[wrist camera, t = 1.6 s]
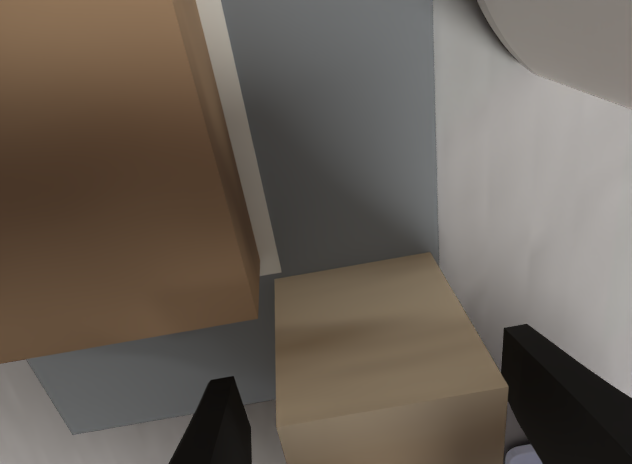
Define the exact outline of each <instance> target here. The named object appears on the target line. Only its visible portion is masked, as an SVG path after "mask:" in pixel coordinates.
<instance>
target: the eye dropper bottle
mask: <svg viewBox="0 0 632 464" xmlns="http://www.w3.org/2000/svg"><path fill="white" fill-rule="evenodd" d="M477 2H478V4H479V6H480V8H481V10H482V12H483V14H484V16H485V18H486V20H487V21H488V23H489V24H490V26H491V28H492V29H493V31H494V32H495V34H496V35H497V36H498V38H499V39H500V41H501V42H502V43H503V45H504V46H505V47H506V48H507V49H508V51H509V52H510V53H511V54H512V55H513V56H514V57H515V58H516V59H517V60H518V61H519V62H520V63H521V64H522V65H523V66H524V67H526V68H527V69H528V70H529V71H531V72H532V73H533V74H536V75H538V76H541V77H544V78H546V79H549V80H552V81H555V82H557V83H560V84H563V85H566V86H568V87H571V88H574V89H577V90H579V91H582V92H585V93H588V94H590V95H593V96H596V97H599V98H601V99H604V100H607V101H610V102H612V103H615V104H618V105H621V106H624V107H626V108H629V109H632V0H477Z"/></svg>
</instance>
